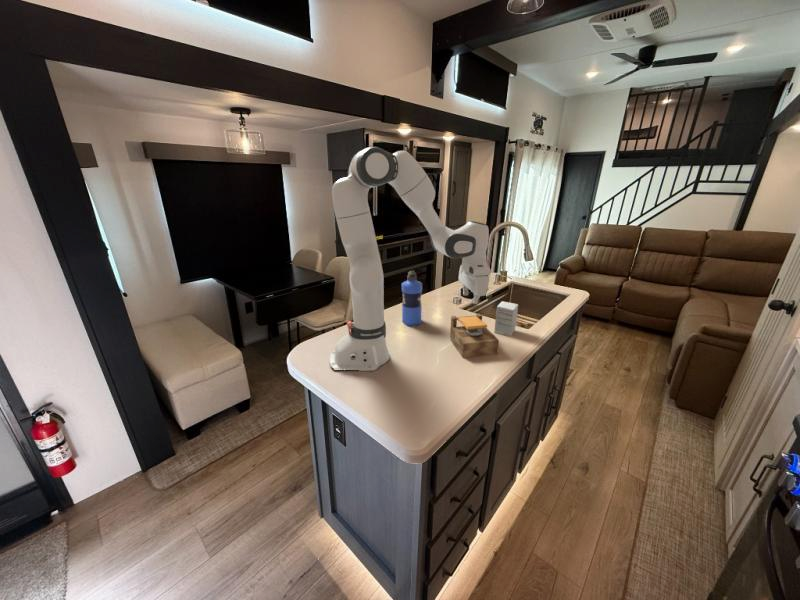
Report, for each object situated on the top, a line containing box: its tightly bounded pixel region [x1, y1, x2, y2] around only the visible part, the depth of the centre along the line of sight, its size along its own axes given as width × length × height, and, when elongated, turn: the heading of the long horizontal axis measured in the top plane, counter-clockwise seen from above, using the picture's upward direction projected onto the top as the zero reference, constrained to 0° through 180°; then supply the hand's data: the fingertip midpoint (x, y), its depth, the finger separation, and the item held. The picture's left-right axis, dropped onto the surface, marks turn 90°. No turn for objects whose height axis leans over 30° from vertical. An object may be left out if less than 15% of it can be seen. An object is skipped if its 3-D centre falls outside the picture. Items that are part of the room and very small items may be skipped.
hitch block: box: [449, 313, 500, 358], centre depth 123 cm, size 14×16×10 cm
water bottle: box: [401, 269, 423, 327], centre depth 142 cm, size 9×9×25 cm
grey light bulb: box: [466, 328, 482, 337], centre depth 122 cm, size 6×6×7 cm
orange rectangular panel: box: [456, 315, 488, 329], centre depth 123 cm, size 8×12×1 cm
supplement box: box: [493, 300, 519, 337], centre depth 134 cm, size 7×7×13 cm
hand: (470, 299), depth 122 cm, fingers open, 8 cm apart
